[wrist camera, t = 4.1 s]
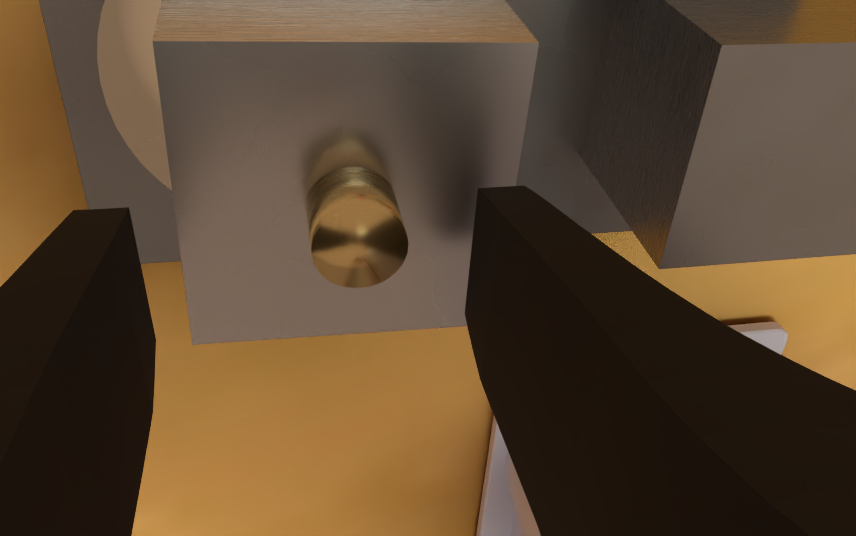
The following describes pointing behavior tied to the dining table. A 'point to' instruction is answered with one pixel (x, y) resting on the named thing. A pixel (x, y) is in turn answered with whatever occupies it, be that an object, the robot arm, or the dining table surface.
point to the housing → (335, 157)
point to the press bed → (570, 121)
